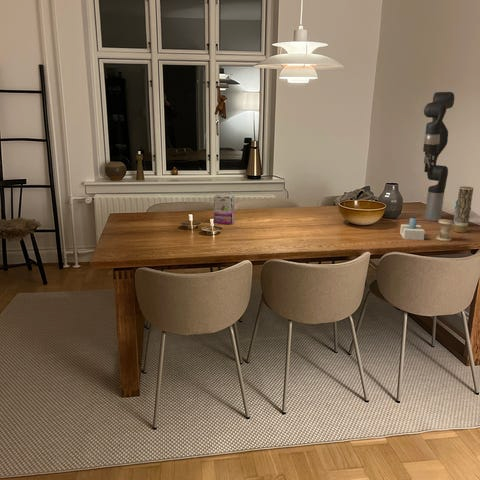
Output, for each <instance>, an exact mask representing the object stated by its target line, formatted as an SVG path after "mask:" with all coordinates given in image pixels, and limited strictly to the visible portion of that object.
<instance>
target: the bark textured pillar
mask: <svg viewBox="0 0 480 480" xmlns="http://www.w3.org/2000/svg"><path fill="white" fill-rule="evenodd" d="M473 192H474V187H472V186H459V190H458V194H459V196H457V200H458V203H457V210H456V217H455V224H454V225H453V232H456V233H459V232H460V234H461V233H462V234H464V233H467V231H468V227H469V222H470V216H469V214H471V210H470V208H471V209H472V207H471V206H472V200H473ZM468 221H469V222H468Z"/></svg>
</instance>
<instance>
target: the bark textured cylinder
mask: <svg viewBox="0 0 480 480" xmlns="http://www.w3.org/2000/svg"><path fill="white" fill-rule="evenodd" d="M458 196H459V193H458ZM458 196H457V197H458ZM457 203H458V199H457V200H456V202H455V206H454V214H453V221H454V224H455V217H456V210H457ZM471 210H472V207H471V208H470V211H471ZM470 214H471V213H470ZM470 214H469V217H470ZM469 222H470V220H469V221H468V223H469ZM454 224H453V225H452V226H454Z"/></svg>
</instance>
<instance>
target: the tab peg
mask: <svg viewBox="0 0 480 480" xmlns="http://www.w3.org/2000/svg"><path fill="white" fill-rule="evenodd" d="M417 221H418V219H417V218H415V217H410V218H409V222H408V225H409V229H416V225H417Z"/></svg>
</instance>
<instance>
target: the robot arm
mask: <svg viewBox="0 0 480 480" xmlns="http://www.w3.org/2000/svg"><path fill="white" fill-rule="evenodd" d="M454 103H455V93H454V92H452V91H441V92H440V91H437V92H435V93H434V94H433V97H432V102H429V103H427V104H426V105H425V106H424V109H423V114H424V116H425V117H426V118H432V121H430V122H428V123H426V125H425V133H424V134H425V135H424V139H423V149H422V151H423V152H424V160H423V163H424V173H427V174H426V175H427V179H428V180H429V181H437V184H435V185H430V186H429V187H428V189H427V198H426V204H425V205H426V206H425V212H424V220H426V221H431V222H438V221H439V220H440V219H442V213H443V212H442V211H443V205H444V196H445V189H446V186H447V179H448V176H449V175H448V174H449V168H448V167H447V166H446V165H439V164H438V165H437V161H438V157H439V156H440V154H441V153H442V152H443V151H444V149H445V148H446V146H447V145H448V140H449V139H448V138H449V131H448V130H449V129H448V128H447V126H446V124H445V123H444V122H443V120H444V118H445V115H446V113H447V110H448V109H452V108H453V106H454Z"/></svg>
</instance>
